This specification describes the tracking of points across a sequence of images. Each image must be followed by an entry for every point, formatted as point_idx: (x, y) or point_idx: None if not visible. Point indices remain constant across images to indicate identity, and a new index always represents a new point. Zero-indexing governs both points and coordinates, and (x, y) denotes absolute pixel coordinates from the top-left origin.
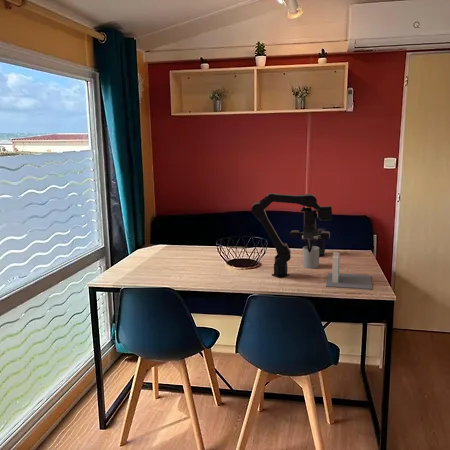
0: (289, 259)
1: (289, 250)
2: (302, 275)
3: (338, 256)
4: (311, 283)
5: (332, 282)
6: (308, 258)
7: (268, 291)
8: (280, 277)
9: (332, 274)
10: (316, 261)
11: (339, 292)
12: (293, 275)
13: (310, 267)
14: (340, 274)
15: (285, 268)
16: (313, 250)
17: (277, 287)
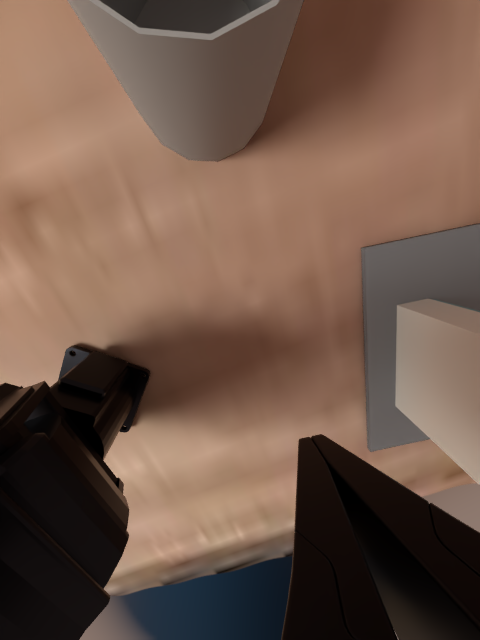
0: (125, 505)
1: (55, 596)
2: (219, 339)
3: None
4: (298, 433)
5: (397, 406)
6: (194, 123)
7: (164, 563)
8: (126, 430)
9: (431, 438)
10: (269, 94)
11: (422, 479)
12: (170, 358)
13: (219, 158)
14: (441, 255)
15: (118, 427)
16: (264, 22)
17: (175, 523)
